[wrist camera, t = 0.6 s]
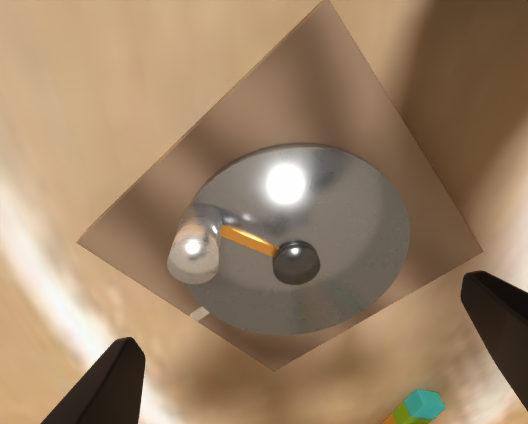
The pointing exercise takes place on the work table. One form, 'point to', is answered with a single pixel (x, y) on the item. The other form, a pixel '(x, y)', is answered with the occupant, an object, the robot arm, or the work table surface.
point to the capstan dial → (291, 239)
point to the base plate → (280, 132)
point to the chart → (417, 409)
